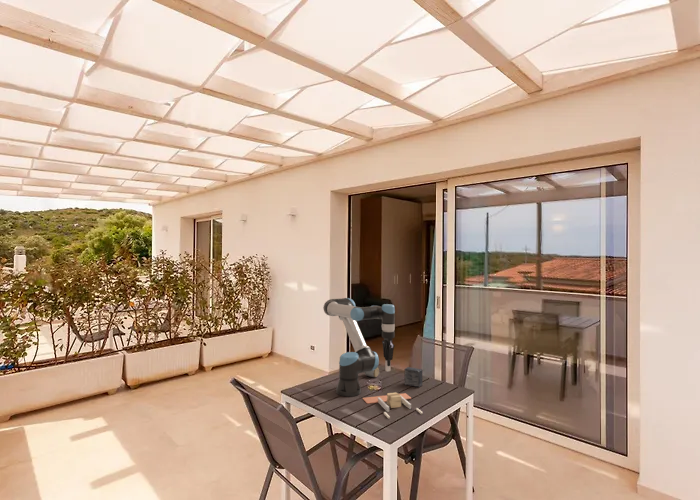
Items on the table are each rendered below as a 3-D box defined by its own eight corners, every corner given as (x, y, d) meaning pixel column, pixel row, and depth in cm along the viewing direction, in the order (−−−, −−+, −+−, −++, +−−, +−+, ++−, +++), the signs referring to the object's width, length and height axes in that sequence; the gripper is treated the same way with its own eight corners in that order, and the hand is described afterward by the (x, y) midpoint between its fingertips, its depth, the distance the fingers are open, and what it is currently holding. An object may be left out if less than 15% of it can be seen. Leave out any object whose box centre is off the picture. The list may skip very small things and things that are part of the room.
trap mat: (362, 398, 214) (362, 397, 214) (405, 393, 223) (405, 393, 223) (367, 403, 207) (367, 403, 207) (411, 398, 215) (411, 398, 215)
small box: (422, 385, 239) (423, 369, 239) (419, 388, 233) (419, 371, 233) (408, 382, 244) (408, 366, 244) (404, 384, 239) (404, 368, 239)
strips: (383, 413, 194) (383, 412, 194) (417, 409, 200) (417, 407, 200) (388, 418, 188) (388, 416, 188) (422, 414, 194) (422, 412, 194)
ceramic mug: (374, 379, 250) (374, 367, 250) (364, 376, 254) (364, 365, 254) (381, 375, 258) (382, 364, 259) (371, 373, 263) (372, 362, 263)
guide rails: (377, 401, 210) (377, 397, 210) (400, 399, 214) (400, 395, 214) (387, 411, 196) (387, 407, 196) (411, 408, 201) (411, 404, 201)
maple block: (387, 404, 207) (387, 393, 207) (396, 402, 209) (396, 392, 209) (391, 408, 201) (391, 397, 202) (401, 407, 203) (401, 396, 203)
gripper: (378, 329, 220) (377, 368, 220) (386, 333, 208) (386, 374, 207) (389, 328, 222) (389, 367, 222) (398, 332, 210) (398, 373, 209)
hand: (387, 370), depth 214 cm, fingers closed
